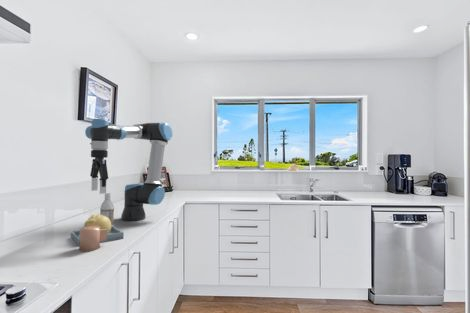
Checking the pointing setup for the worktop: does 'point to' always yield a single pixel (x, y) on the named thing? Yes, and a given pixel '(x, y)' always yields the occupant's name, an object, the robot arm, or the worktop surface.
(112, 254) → the worktop surface
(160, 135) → the robot arm
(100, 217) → the sculpture
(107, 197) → the bath foam
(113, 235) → the tray
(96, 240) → the peach tabbed round part
